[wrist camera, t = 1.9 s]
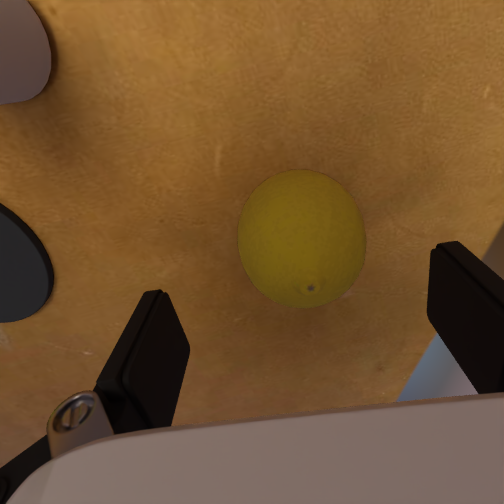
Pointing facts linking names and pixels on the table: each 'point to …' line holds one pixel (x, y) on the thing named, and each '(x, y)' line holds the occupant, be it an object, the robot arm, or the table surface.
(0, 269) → the disc
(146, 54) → the table surface
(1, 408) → the table surface
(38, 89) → the beverage can
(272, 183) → the lemon
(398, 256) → the table surface
